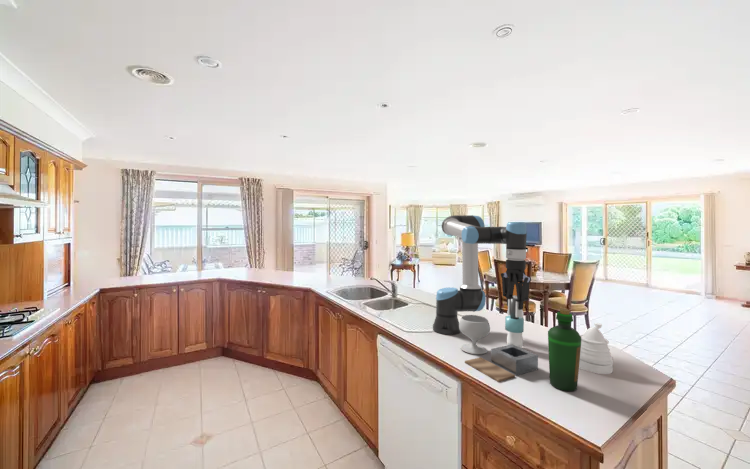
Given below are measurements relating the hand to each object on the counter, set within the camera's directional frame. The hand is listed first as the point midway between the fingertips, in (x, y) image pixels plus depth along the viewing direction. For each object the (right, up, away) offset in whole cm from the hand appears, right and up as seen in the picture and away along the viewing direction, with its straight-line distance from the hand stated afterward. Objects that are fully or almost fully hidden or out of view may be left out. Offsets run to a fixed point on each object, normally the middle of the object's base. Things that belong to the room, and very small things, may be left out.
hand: (514, 315), depth 128 cm
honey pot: (+33, -22, 0) cm, 39 cm away
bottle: (+11, -22, -16) cm, 29 cm away
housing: (0, -21, 0) cm, 21 cm away
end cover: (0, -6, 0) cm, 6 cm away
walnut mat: (-12, -21, -3) cm, 24 cm away
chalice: (-11, -21, +17) cm, 29 cm away
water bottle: (+9, -21, +20) cm, 31 cm away
